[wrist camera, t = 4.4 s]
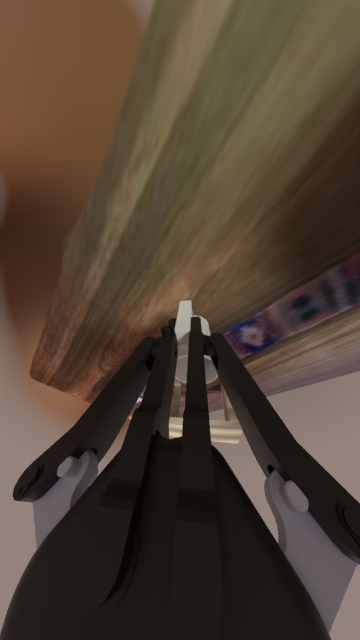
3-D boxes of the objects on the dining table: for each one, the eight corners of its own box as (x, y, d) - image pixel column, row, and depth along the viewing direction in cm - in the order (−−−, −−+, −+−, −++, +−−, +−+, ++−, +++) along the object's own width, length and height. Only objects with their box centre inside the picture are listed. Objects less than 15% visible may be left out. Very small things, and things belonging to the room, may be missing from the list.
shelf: (172, 363, 39) (161, 423, 26) (226, 363, 36) (242, 429, 24) (176, 379, 43) (168, 436, 31) (225, 380, 41) (238, 443, 28)
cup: (201, 343, 33) (203, 389, 23) (173, 331, 32) (163, 375, 22) (219, 321, 29) (230, 366, 19) (187, 306, 28) (182, 346, 18)
